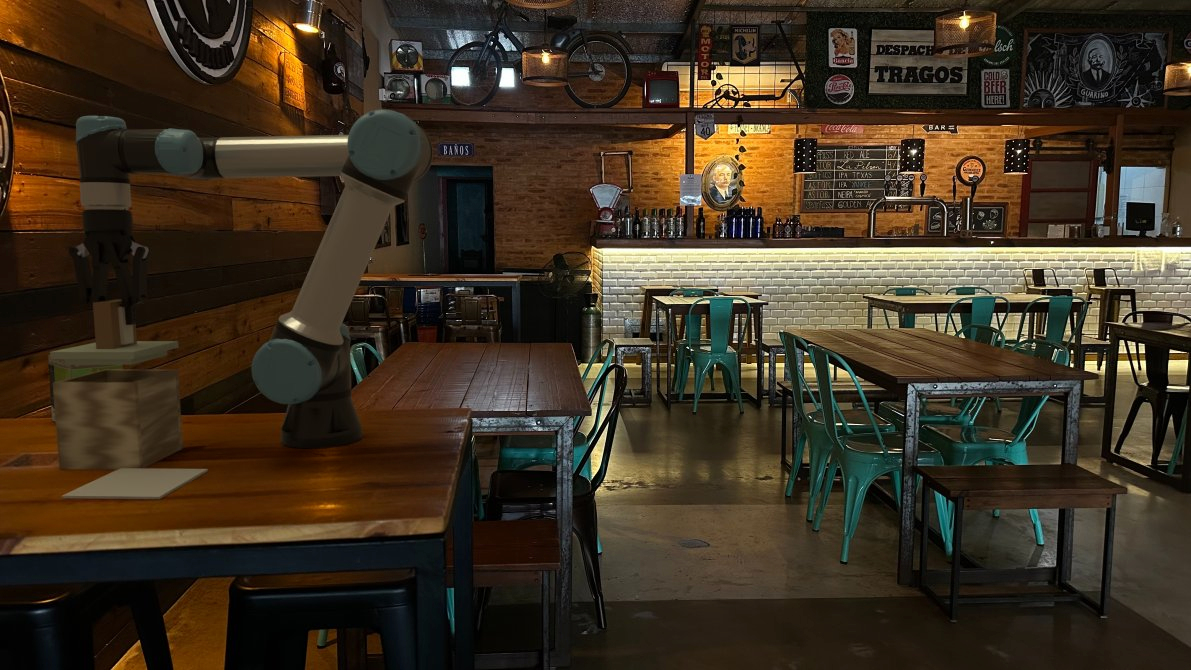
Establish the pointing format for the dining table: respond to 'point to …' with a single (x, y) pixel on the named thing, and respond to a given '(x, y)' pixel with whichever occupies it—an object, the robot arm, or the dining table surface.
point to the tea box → (70, 373)
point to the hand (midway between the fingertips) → (116, 343)
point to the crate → (117, 418)
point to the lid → (112, 342)
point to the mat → (136, 484)
